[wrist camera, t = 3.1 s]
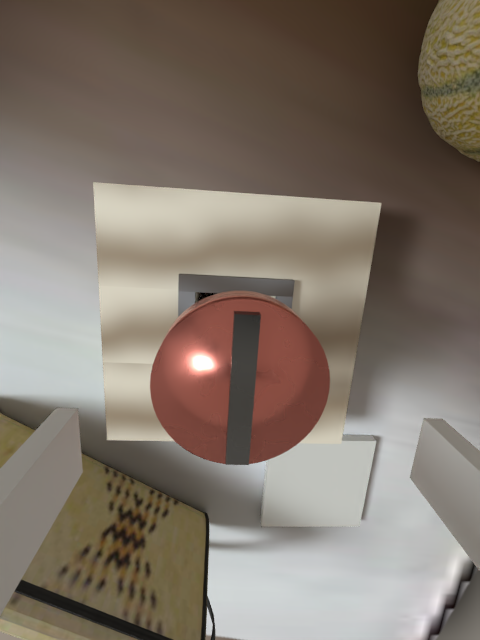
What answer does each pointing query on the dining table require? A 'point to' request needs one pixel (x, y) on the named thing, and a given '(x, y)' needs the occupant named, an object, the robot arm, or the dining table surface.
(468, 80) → the cantaloupe
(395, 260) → the dining table surface
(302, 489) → the rubber mat
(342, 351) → the block
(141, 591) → the clutch purse
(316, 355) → the screw pin
